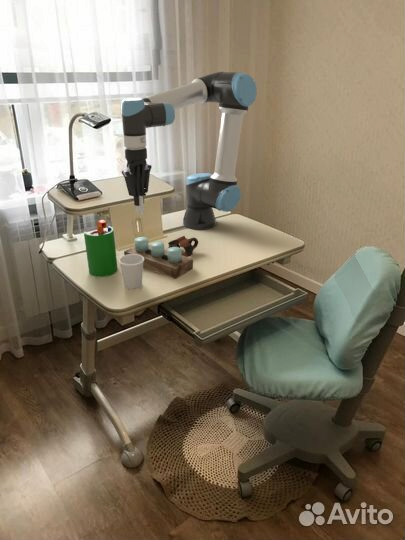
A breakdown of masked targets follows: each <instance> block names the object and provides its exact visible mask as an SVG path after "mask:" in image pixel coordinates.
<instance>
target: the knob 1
mask: <svg viewBox="0 0 405 540" xmlns="http://www.w3.org/2000/svg"><path fill="white" fill-rule="evenodd" d="M148 245H149V238H148V237H146V236H139V237H136V238H134V246H135V250H136V251H138V252H143V253H145V251H147V250H148V249H149V248H148Z"/></svg>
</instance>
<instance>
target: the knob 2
mask: <svg viewBox="0 0 405 540" xmlns="http://www.w3.org/2000/svg"><path fill="white" fill-rule="evenodd" d="M150 245H151V256H153V257H158V258H161V257H162V256H164V255H165V251H164V250H165V243H164V242H161V241H155V242H151V243H150Z"/></svg>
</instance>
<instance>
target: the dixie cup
mask: <svg viewBox="0 0 405 540" xmlns="http://www.w3.org/2000/svg"><path fill="white" fill-rule="evenodd" d="M143 261H144V257H143V256H141V255H138V254H128V255H124V254H123V255H122V256H121V257H119V259H118V263H119V264H120V271H121V274H122V278H123V284H124V287H125V289H127V290H131V291H133V290H138V289H141V288H142V285H143V274H144V273H143V272H144V267H143Z"/></svg>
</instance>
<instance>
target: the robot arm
mask: <svg viewBox="0 0 405 540" xmlns="http://www.w3.org/2000/svg"><path fill="white" fill-rule="evenodd" d="M257 89H258V88H257V84H256V82H255V79H254V78H253V76H251V75H250V74H248V73H243V72H238V71H237V72H236V71H235V72H232V71H230V72H229V71H228V72H227V71H218V72H217V71H216V72H213V73H209V74H207V75H203V76H201V77H197V78H194V79H193V80H192V81H191V82H190V83H188V84H184V85H181V86H178V87H174V88H171V89H168V90H165V91H164V90H163V91H161V92H158V93H154V94H152V95H148V96H145V97H142V98H125V99H123V100H122V101H121V106H120V107H121V108H120V114H121V119H122V120H121V121H122V130H123V132H122V133H123V146H124V147H125V149H124V158H125V160H126V169H125V170H122V171H121V175H122V176H123V177H124V182H125V185H126V188H127V192H128V195H129V196H131V197H133V205H134V206H135V213H136V214H137V215H143V214H144V215H145V209H144V208H145V207H144V204H145V197H147V193H148V192H149V185H150V177H151V176H150V175H151V174H150V173H151V170H152V164H148V163H147V161H146V160H147V159H148V150H147V149H148V148H147V129H149V128H156V127H166V126H170V125H172V124H173V123H174V122H175V118H176V110H180V109H182V108H185V107H188V106H191V105H194V104H196V103H197V104H200V105H201V104H206V103H217V104H219V105H218V109H219V110H220V112H221V119H220V126H219V133H218V142H217V148H216V156H215V164H214V165H215V166H214V171H213V174H212V173H209V172H200V173H193V174H189V175H188V176H187V177H186V184H185V186H186V188H185V191H186V193H185V194H186V209H185V212H184V215H183V219H182V225H183V226H185V227H186V228H188V229H191V230H207V229H211V228H213V227H215V226H216V225H217V219H216V215H215V213H214V210H217V211H219V212H225V213H226V212H228V213H229V212H232V210H235V208H236V207H237V206H238V205H239V203H240V201H241V199H242V198H241V197H242V191H241V188H240V187H239V186H238V178H237V177H236V167H237V162H238V156H239V155H238V153H239V149H240V148H239V147H240V140H241V134H242V133H241V132H242V127H243V120H244V115H246V113H247V112H248V111H249V107H250V106H252V105H253V104H254V102H255V101H256V98H257V94H258V93H257Z"/></svg>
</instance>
